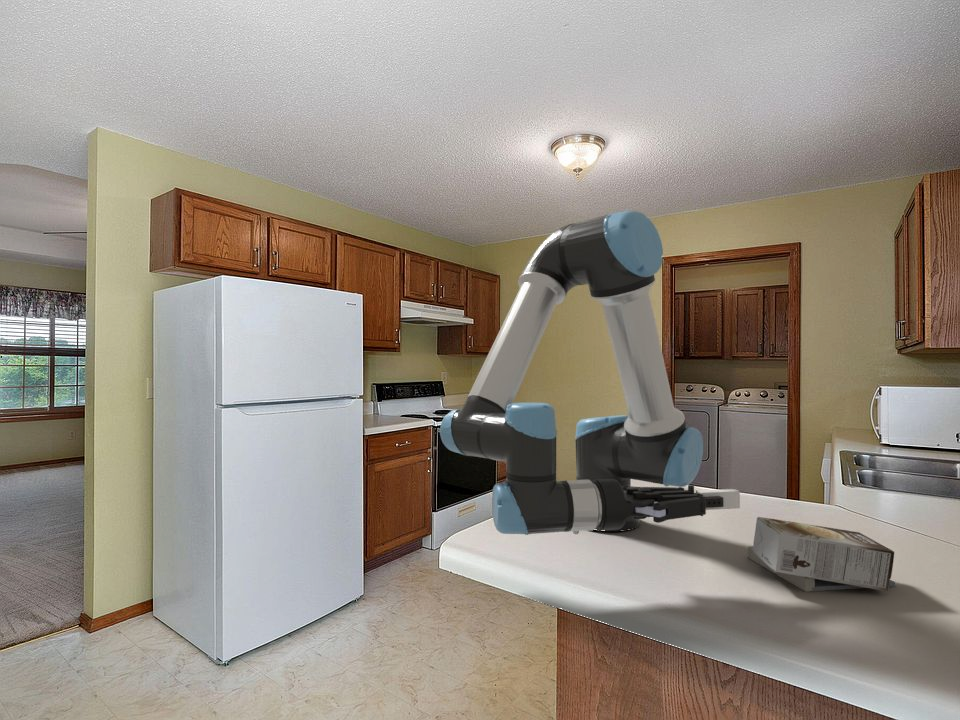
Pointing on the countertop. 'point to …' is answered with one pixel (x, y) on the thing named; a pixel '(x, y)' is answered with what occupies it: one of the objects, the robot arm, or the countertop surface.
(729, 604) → the countertop surface
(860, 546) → the coffee box
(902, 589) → the countertop surface
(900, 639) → the countertop surface
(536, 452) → the robot arm
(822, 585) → the mat
